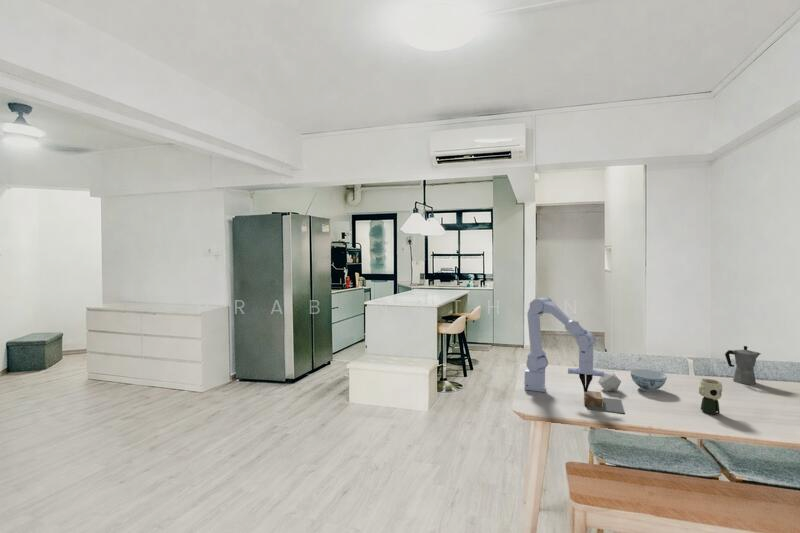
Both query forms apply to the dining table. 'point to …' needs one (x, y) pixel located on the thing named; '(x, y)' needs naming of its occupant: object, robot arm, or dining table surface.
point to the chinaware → (648, 379)
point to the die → (609, 382)
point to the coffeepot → (743, 365)
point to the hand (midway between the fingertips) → (585, 391)
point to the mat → (609, 406)
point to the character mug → (710, 395)
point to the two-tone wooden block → (593, 398)
